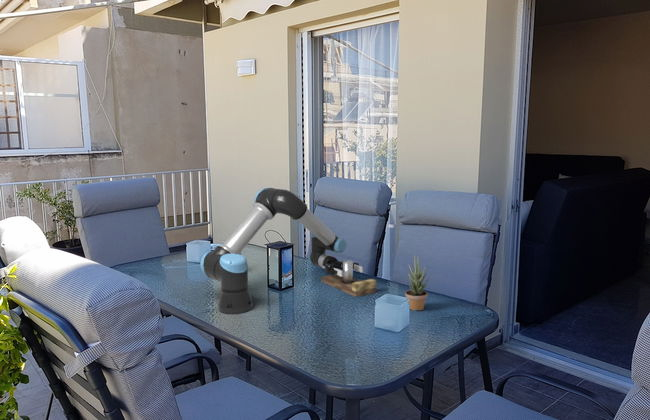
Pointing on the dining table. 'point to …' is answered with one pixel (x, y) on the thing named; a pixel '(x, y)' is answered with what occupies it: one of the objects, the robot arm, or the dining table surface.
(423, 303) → the potted plant
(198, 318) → the dining table surface
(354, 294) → the jig bar
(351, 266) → the steel sleeve
